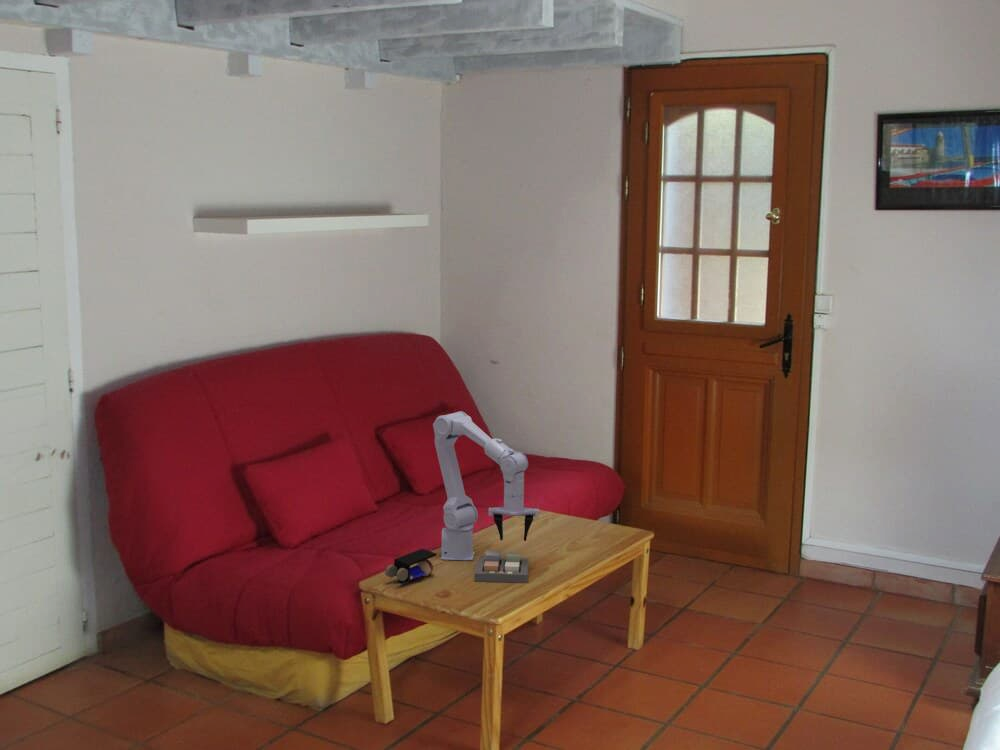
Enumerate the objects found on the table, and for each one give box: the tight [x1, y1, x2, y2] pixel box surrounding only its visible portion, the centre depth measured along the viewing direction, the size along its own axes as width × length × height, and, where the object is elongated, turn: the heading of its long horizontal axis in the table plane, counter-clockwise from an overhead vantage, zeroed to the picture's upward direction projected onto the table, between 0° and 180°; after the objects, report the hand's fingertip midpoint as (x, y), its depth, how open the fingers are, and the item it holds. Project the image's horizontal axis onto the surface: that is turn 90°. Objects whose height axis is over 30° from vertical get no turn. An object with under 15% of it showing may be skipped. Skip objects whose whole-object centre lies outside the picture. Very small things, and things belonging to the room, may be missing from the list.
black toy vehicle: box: [384, 548, 437, 586], centre depth 327 cm, size 7×8×15 cm
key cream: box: [505, 562, 519, 572], centre depth 330 cm, size 4×4×2 cm
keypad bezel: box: [473, 556, 530, 584], centre depth 334 cm, size 15×15×3 cm
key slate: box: [484, 550, 501, 564], centre depth 336 cm, size 4×4×3 cm
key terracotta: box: [484, 561, 499, 572], centre depth 331 cm, size 4×4×2 cm
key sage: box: [505, 551, 521, 566], centre depth 336 cm, size 4×4×3 cm
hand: (513, 539), depth 335 cm, fingers open, 6 cm apart
